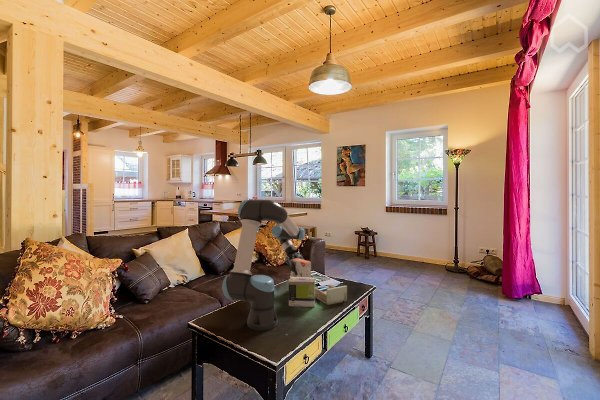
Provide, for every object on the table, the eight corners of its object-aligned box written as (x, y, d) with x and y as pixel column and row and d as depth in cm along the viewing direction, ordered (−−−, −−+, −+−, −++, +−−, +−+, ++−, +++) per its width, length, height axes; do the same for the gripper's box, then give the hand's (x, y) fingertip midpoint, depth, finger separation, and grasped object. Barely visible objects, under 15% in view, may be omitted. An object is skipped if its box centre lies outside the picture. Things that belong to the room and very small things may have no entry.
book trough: (327, 305, 171) (327, 289, 171) (312, 295, 186) (312, 281, 186) (346, 300, 178) (347, 286, 178) (330, 292, 193) (330, 278, 193)
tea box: (315, 301, 178) (315, 276, 177) (314, 307, 168) (314, 282, 167) (290, 299, 179) (290, 275, 178) (288, 306, 169) (288, 281, 168)
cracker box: (290, 289, 197) (290, 258, 196) (296, 287, 201) (297, 257, 200) (304, 295, 186) (304, 262, 185) (311, 293, 190) (311, 261, 189)
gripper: (297, 250, 210) (312, 278, 198) (275, 253, 198) (290, 283, 186) (302, 243, 206) (318, 272, 194) (280, 247, 194) (295, 277, 182)
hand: (304, 277), depth 190 cm, fingers closed on cracker box, 6 cm apart
